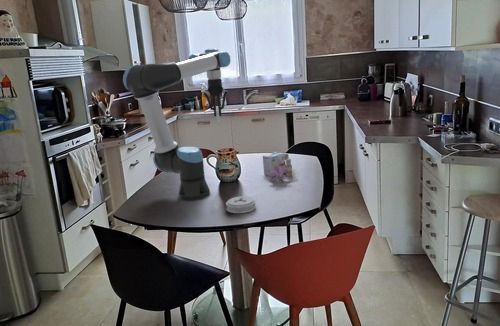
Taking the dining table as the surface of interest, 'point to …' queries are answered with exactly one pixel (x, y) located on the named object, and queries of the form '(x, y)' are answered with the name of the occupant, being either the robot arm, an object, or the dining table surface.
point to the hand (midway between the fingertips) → (218, 121)
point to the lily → (278, 172)
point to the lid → (241, 204)
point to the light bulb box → (272, 161)
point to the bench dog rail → (288, 165)
